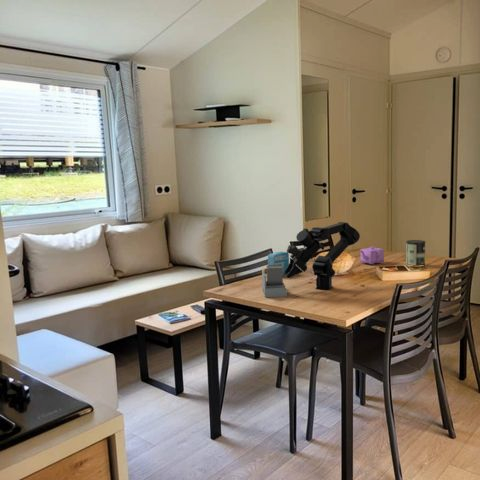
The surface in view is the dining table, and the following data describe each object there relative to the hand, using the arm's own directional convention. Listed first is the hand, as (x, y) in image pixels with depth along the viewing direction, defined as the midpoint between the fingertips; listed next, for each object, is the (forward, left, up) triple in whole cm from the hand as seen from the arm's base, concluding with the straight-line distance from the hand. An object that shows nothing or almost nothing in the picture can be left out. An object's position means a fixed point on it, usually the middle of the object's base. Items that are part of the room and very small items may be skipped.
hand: (286, 275), depth 241 cm
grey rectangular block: (+4, +3, -7) cm, 9 cm away
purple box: (-12, -82, -8) cm, 83 cm away
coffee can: (-37, -85, -8) cm, 93 cm away
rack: (+4, +3, -8) cm, 10 cm away
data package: (+22, -33, -8) cm, 41 cm away
